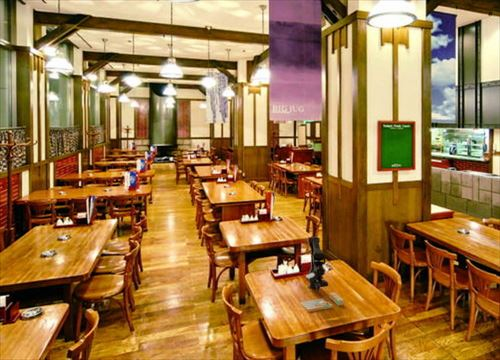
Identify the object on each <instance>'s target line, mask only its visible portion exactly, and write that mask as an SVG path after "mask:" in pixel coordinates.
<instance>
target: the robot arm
mask: <svg viewBox="0 0 500 360" xmlns="http://www.w3.org/2000/svg"><path fill="white" fill-rule="evenodd" d="M320 243H321V238H320V237H318V236H312V237H311V236H310V237H308V238H307V244H308V247H309V249H310V269H309V272H308V273H307V274H306V275H305V279H306V280H307V281H308V283H309V285H308V286H307V288H308V289H310V290H316V292H317V291H320V290H321V288H324V287H325V288H326V287H329V282H328V281H327V280H325V279H324V277H323V276H324V275H325V274H326V270H325V268H324V265H326V262H327V261H326V254H324V251H323V250H322V249H321V246H320Z"/></svg>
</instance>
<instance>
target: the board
mask: <svg viewBox="0 0 500 360" xmlns="http://www.w3.org/2000/svg"><path fill="white" fill-rule="evenodd" d="M319 301H326V299H324V298H323V297H322V298H317V299H312V300H305V301H302V302H301V301H300V302H299V303H300V304H301V306H302V307H303V308H304V309H305V310H306V311H307V313H310V312H314V311H321V310H327V309H332V308H333V304H332V303H331V302H329V301H326V302H327V305H325V306H319Z"/></svg>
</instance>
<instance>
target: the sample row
mask: <svg viewBox="0 0 500 360" xmlns="http://www.w3.org/2000/svg"><path fill="white" fill-rule="evenodd" d="M329 299H330V300H331V301H332V302H333V303H335V304H336V305H337V306H338V307H339V306H343V305H344V299H343V298H342V297H341V296H339V294H337V293H336V292H335V291H333V292H329Z"/></svg>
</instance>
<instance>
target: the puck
mask: <svg viewBox="0 0 500 360" xmlns="http://www.w3.org/2000/svg"><path fill="white" fill-rule="evenodd" d="M327 302H328V301H326V300H325V301H319V306H325V305H327Z"/></svg>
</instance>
